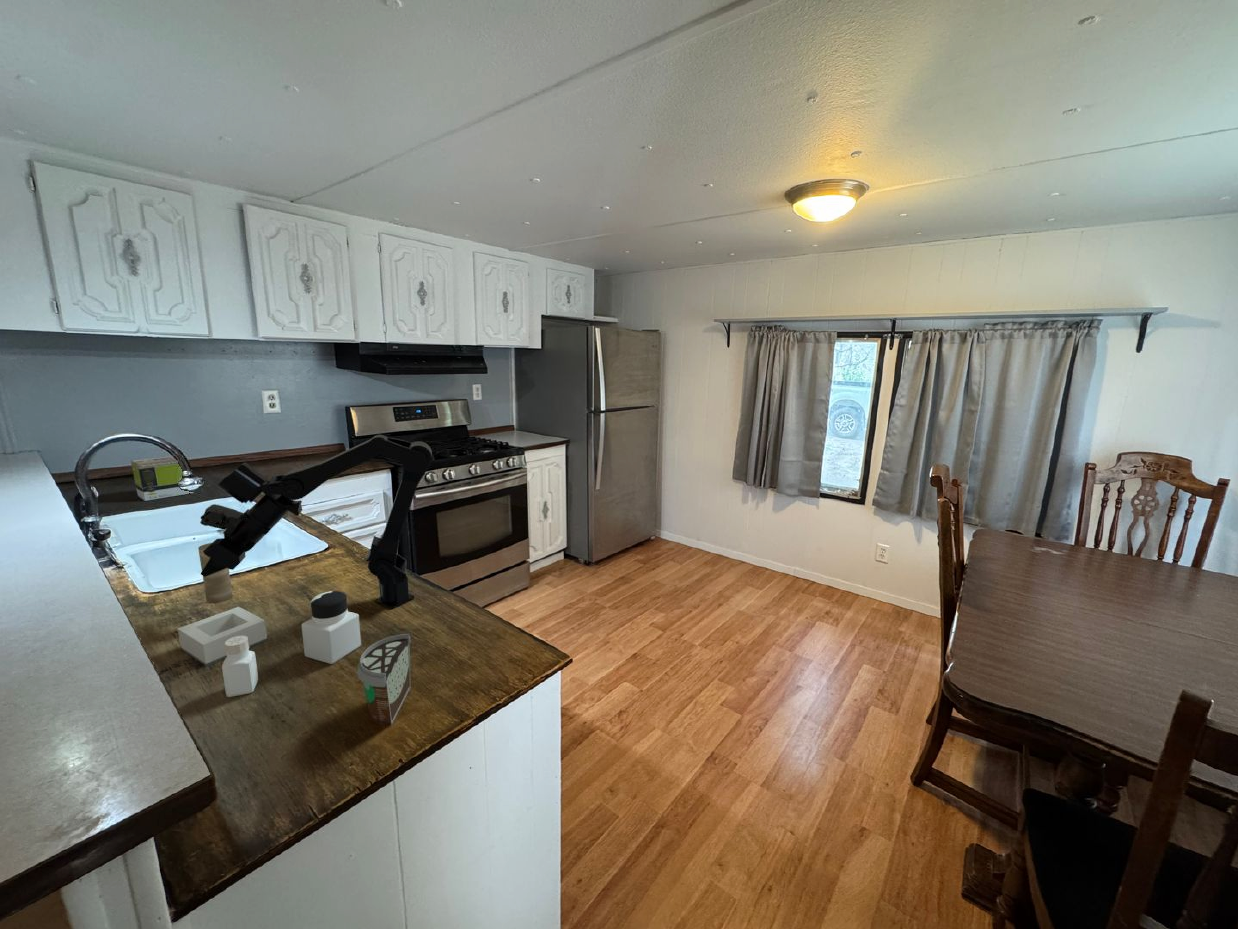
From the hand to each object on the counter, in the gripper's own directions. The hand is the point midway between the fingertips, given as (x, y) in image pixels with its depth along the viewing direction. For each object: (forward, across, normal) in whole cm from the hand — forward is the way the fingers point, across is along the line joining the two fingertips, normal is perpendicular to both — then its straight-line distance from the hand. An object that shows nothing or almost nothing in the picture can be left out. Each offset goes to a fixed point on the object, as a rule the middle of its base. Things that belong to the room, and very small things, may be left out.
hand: (207, 570), depth 105 cm
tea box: (+47, -118, -29) cm, 130 cm away
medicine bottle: (-9, +19, +27) cm, 34 cm away
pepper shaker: (0, +27, +18) cm, 32 cm away
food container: (-16, +39, +34) cm, 54 cm away
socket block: (+5, +10, +12) cm, 17 cm away
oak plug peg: (+4, 0, +6) cm, 7 cm away
